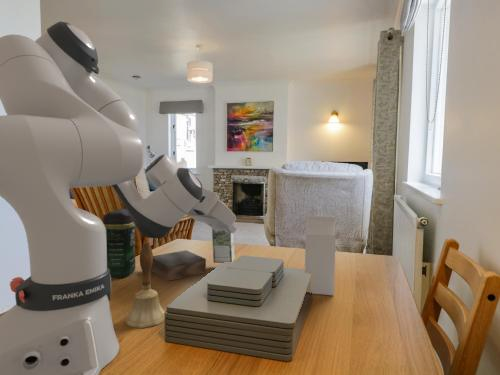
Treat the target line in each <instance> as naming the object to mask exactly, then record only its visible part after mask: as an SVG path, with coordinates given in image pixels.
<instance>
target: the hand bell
mask: <svg viewBox="0 0 500 375" xmlns="http://www.w3.org/2000/svg"><path fill="white" fill-rule="evenodd" d="M153 256H154V252H153V250H152V248H151V244H150V242H149V241H143V242H142V246H141V248H140V253H139V265H140V269H141V272H142V280H141V283H142V284H141V290H139V291H137V292H136V293H135V295H134V302H133V307H132V309H131V312H130V313H129V314H127V316H126V318H125V323H126V325H127V326H129V327H132V328H140V329H141V328H142V329H143V328H151V327H154V326H158V325H160V324H162V323H164V322H165V321H164V313H165V311H166V310H164V309H163V307H162V306H161V303H160V300H159V295H158V292H157V291H156V290H155V289H152V288H151V284H152V282H151V272H152V271H151V267H152V263H153Z"/></svg>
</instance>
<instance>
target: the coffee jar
mask: <svg viewBox="0 0 500 375" xmlns="http://www.w3.org/2000/svg"><path fill="white" fill-rule="evenodd" d="M102 217H103V218H102V219H103V220H102V222H103V224H104V226H105V228H106V242H107V268H109V269H110V275H111V279H119V278H123V277H128V276H130V275H131V274H132V273H134V271H135V270H136V267H137V266H136V244H135V243H136V241H135V240H136V239H135V238H136V237H135V235H136V234H135V232H136V226H135V224H134V222H133V220H132V218H131V216H130V214H129V212H128V210H127V209H126V208H116V209H115V210H112V211H109V212H107V213H105V214H104V215H103V216H102Z"/></svg>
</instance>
